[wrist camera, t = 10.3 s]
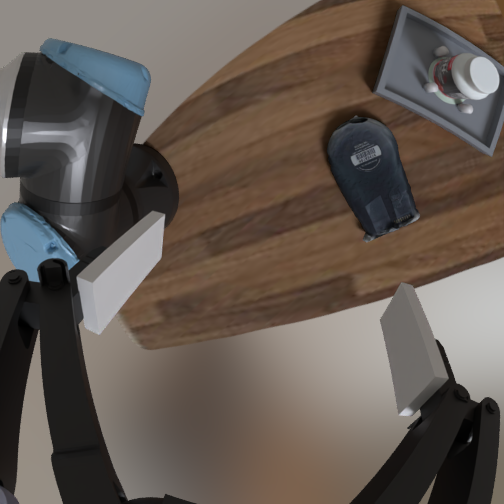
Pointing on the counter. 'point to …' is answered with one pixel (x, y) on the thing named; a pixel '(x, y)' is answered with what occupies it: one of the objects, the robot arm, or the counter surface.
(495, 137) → the tray
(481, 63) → the pill bottle
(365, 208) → the electronic device
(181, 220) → the counter surface
